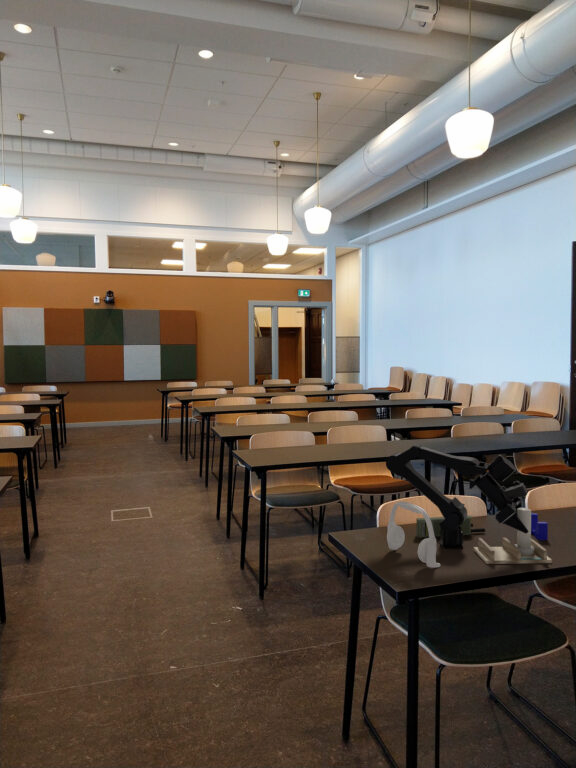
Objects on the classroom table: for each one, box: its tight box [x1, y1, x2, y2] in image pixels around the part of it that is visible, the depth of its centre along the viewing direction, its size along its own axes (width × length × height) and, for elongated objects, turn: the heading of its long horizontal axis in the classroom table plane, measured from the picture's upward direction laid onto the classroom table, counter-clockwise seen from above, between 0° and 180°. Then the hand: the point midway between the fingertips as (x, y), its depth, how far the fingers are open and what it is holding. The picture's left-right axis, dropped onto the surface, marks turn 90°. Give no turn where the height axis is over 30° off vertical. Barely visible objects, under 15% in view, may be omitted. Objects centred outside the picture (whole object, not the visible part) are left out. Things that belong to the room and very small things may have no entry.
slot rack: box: [473, 537, 553, 565], centre depth 178 cm, size 20×12×4 cm, turn 90°
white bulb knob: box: [514, 507, 534, 556], centre depth 177 cm, size 6×6×14 cm
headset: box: [386, 501, 441, 569], centre depth 176 cm, size 20×7×18 cm, turn 28°
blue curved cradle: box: [531, 512, 549, 541], centre depth 198 cm, size 12×4×6 cm, turn 173°
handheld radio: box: [415, 515, 486, 538], centre depth 199 cm, size 7×3×25 cm
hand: (528, 528), depth 177 cm, fingers open, 8 cm apart
